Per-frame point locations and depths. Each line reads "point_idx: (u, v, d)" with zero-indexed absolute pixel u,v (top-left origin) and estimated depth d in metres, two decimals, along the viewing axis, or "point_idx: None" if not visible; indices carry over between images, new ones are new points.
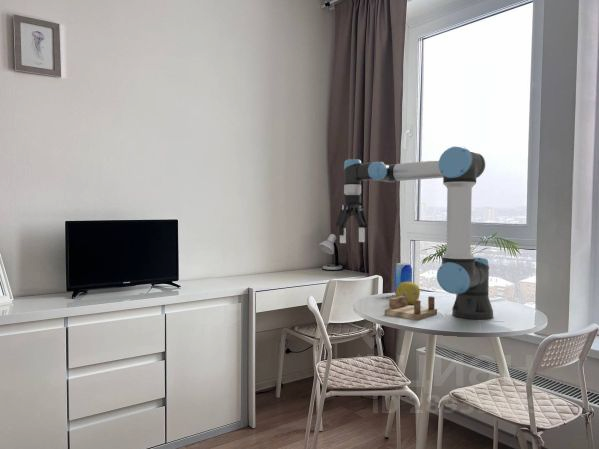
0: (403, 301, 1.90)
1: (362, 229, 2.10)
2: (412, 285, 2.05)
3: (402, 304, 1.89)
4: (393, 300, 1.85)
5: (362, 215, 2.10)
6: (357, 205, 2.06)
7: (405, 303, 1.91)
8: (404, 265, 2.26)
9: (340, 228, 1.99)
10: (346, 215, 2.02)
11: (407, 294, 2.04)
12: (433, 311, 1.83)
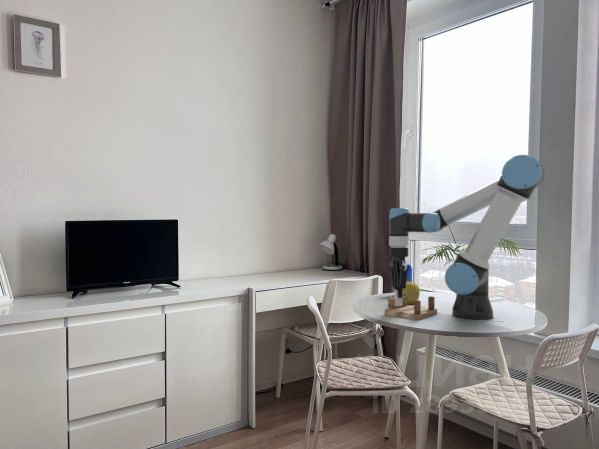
0: (402, 301, 1.90)
1: None
2: (412, 285, 2.05)
3: None
4: (392, 300, 1.86)
5: None
6: (399, 258, 1.82)
7: (404, 303, 1.91)
8: None
9: None
10: None
11: (407, 294, 2.04)
12: (433, 311, 1.83)
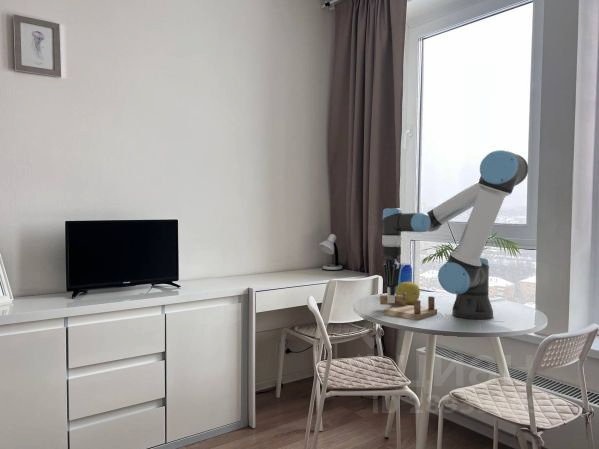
0: (397, 300, 1.92)
1: None
2: (412, 285, 2.05)
3: (395, 303, 1.92)
4: (380, 296, 1.94)
5: None
6: (392, 257, 1.88)
7: (400, 302, 1.92)
8: (404, 265, 2.26)
9: None
10: None
11: (407, 294, 2.04)
12: (433, 311, 1.83)
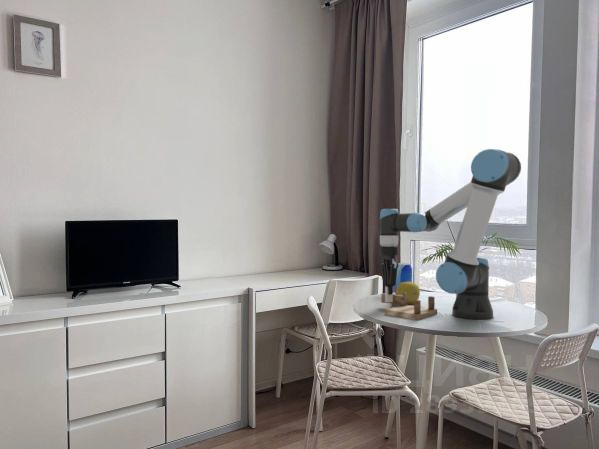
0: (396, 299, 1.94)
1: None
2: (412, 285, 2.05)
3: (394, 302, 1.94)
4: None
5: None
6: (389, 256, 1.91)
7: (399, 302, 1.93)
8: (404, 265, 2.26)
9: None
10: None
11: (407, 294, 2.04)
12: (433, 311, 1.83)
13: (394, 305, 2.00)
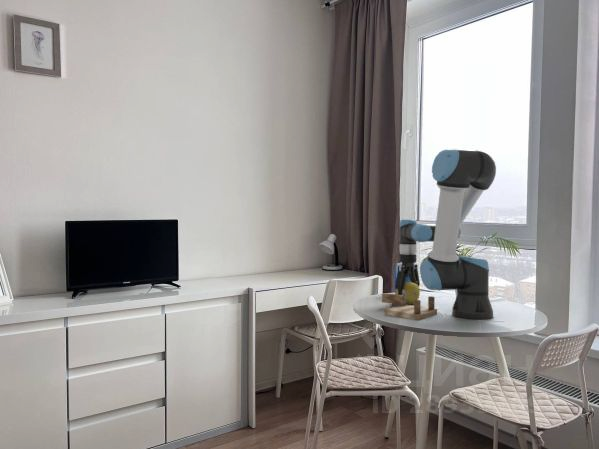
0: (396, 299, 1.94)
1: None
2: (412, 285, 2.05)
3: (394, 302, 1.95)
4: None
5: (415, 273, 2.13)
6: (412, 263, 2.10)
7: (399, 302, 1.93)
8: None
9: (399, 290, 2.03)
10: (403, 275, 2.06)
11: (407, 294, 2.04)
12: (433, 311, 1.83)
13: (394, 305, 2.00)
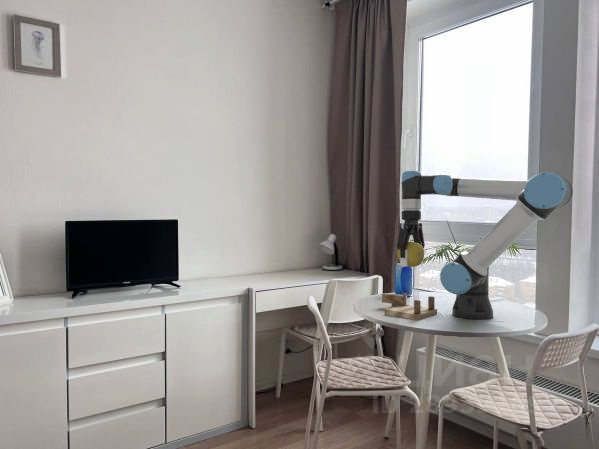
0: (396, 299, 1.94)
1: None
2: (416, 245, 1.81)
3: (394, 302, 1.95)
4: None
5: (419, 233, 1.89)
6: (416, 221, 1.86)
7: (399, 302, 1.93)
8: None
9: (401, 250, 1.79)
10: (406, 234, 1.82)
11: (410, 255, 1.80)
12: (433, 311, 1.83)
13: (394, 305, 2.00)
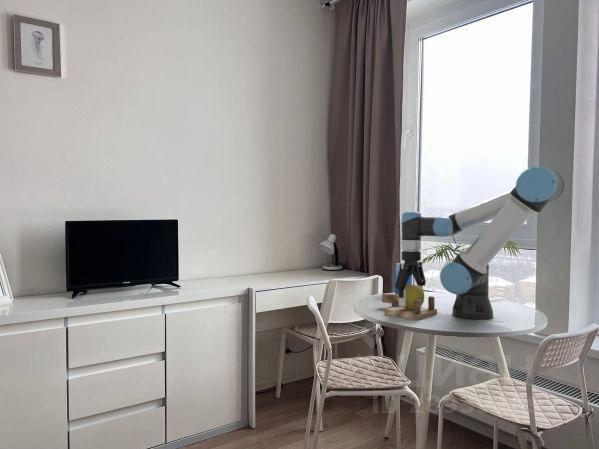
0: (396, 299, 1.94)
1: None
2: (416, 288, 1.81)
3: (394, 302, 1.95)
4: None
5: (420, 272, 1.89)
6: (416, 262, 1.86)
7: None
8: None
9: (400, 290, 1.79)
10: (405, 274, 1.81)
11: (410, 299, 1.80)
12: (433, 311, 1.83)
13: (394, 305, 2.00)
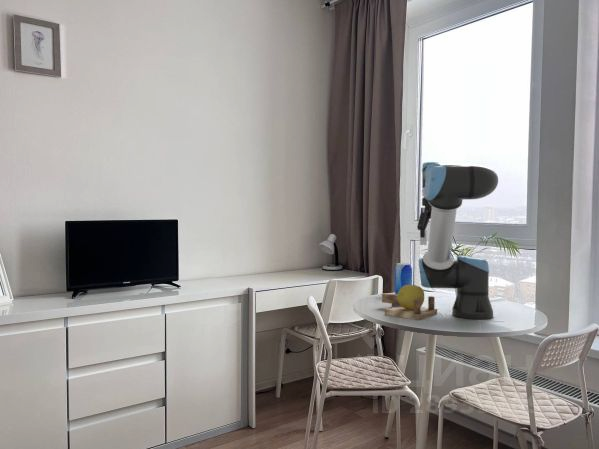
0: (396, 299, 1.94)
1: None
2: (416, 288, 1.81)
3: (394, 302, 1.95)
4: None
5: None
6: None
7: None
8: (404, 265, 2.26)
9: (421, 230, 2.01)
10: (426, 217, 2.04)
11: (410, 299, 1.80)
12: (433, 311, 1.83)
13: (394, 305, 2.00)
